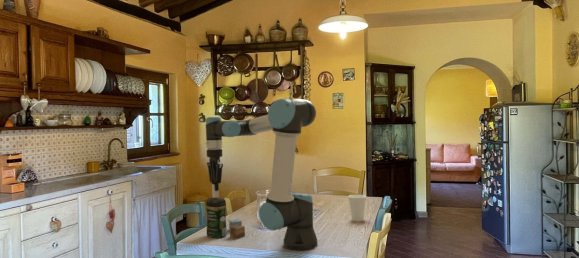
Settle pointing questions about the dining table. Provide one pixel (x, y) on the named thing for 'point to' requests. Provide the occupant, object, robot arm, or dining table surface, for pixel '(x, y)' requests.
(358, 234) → the dining table surface
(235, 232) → the walnut block
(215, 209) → the coffee jar
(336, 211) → the dining table surface
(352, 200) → the foam cup
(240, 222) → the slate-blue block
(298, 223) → the robot arm
